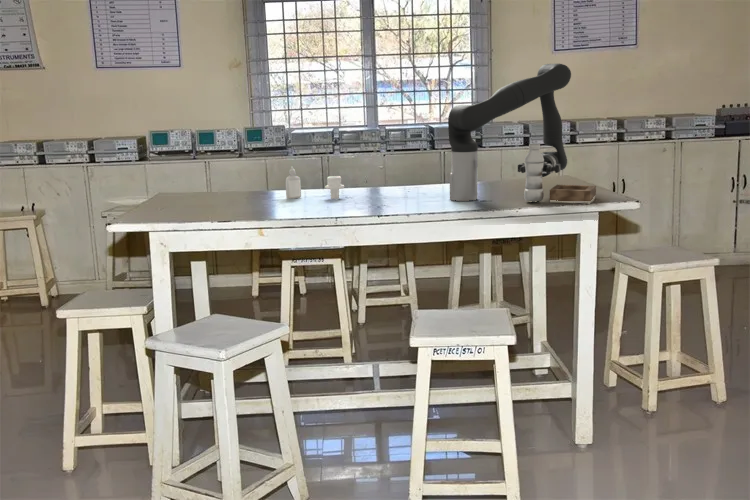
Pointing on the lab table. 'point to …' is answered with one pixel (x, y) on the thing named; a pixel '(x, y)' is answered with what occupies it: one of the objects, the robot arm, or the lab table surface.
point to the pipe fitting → (334, 186)
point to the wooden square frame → (572, 193)
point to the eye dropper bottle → (293, 185)
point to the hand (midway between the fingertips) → (534, 170)
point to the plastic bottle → (534, 174)
